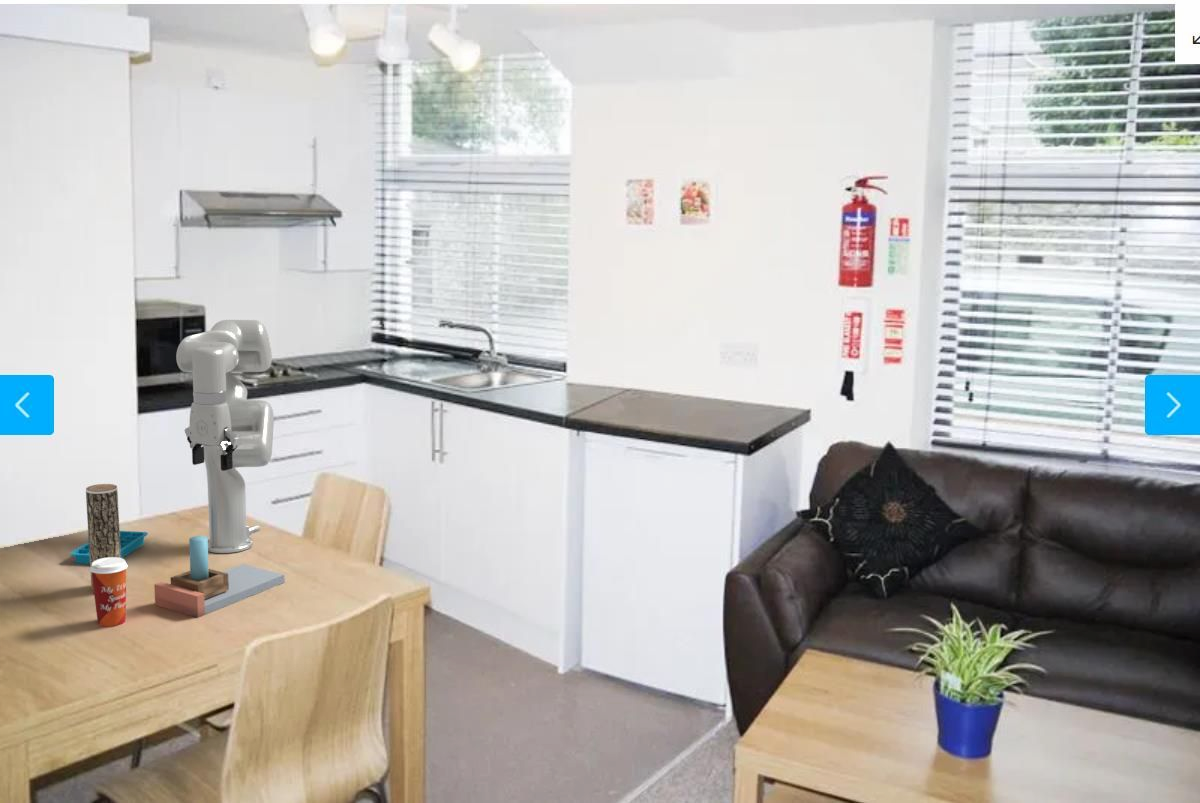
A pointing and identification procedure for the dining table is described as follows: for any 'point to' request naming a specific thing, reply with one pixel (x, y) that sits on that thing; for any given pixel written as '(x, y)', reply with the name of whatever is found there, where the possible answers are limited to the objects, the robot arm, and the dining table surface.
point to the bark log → (103, 522)
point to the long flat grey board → (240, 587)
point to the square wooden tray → (203, 583)
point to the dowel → (198, 558)
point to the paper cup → (110, 590)
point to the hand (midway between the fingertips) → (212, 466)
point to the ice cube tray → (127, 545)
